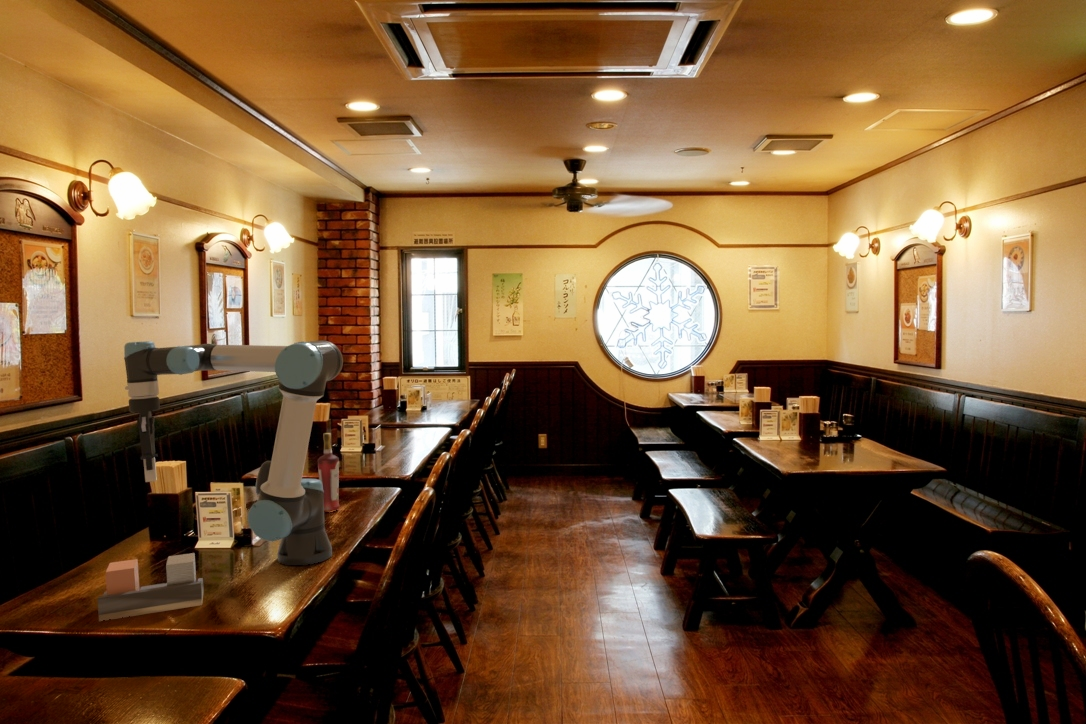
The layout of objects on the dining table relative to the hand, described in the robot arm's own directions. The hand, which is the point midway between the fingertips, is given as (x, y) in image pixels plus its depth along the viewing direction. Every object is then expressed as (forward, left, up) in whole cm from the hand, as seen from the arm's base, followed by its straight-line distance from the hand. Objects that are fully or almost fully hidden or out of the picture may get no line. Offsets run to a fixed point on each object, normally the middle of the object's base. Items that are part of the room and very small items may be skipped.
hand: (151, 480), depth 206 cm
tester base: (-9, +27, -25) cm, 38 cm away
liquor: (-40, -52, -25) cm, 70 cm away
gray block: (-15, +25, -24) cm, 38 cm away
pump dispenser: (-15, -72, -25) cm, 78 cm away
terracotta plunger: (-2, +27, -24) cm, 36 cm away
